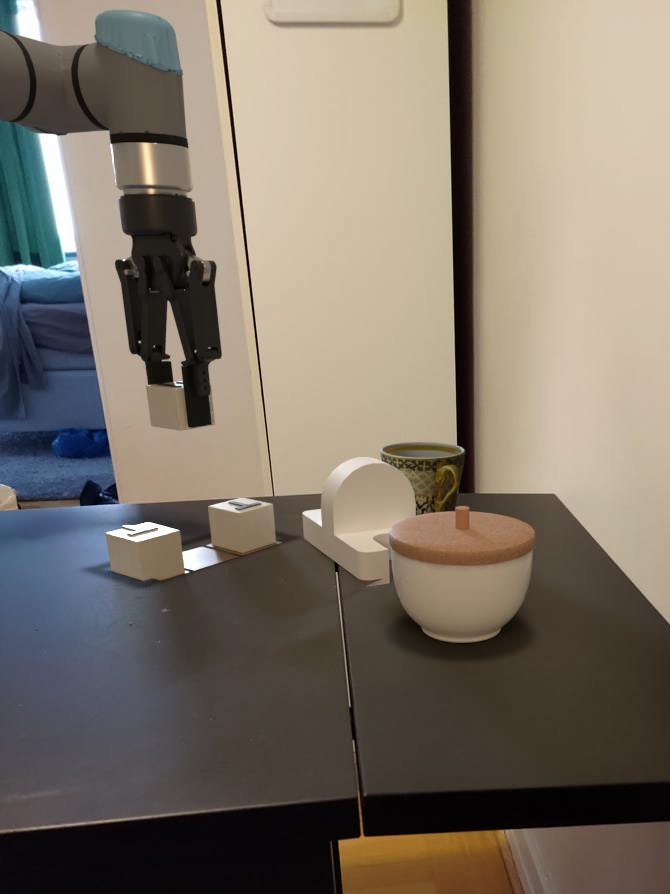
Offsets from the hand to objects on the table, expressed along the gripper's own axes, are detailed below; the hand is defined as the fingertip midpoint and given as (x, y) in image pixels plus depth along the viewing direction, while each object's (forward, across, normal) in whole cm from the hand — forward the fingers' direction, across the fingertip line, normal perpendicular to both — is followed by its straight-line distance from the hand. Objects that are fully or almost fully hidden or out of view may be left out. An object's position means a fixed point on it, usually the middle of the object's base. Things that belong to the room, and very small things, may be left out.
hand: (182, 422), depth 100 cm
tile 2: (+12, -10, +1) cm, 16 cm away
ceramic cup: (+13, -23, -16) cm, 31 cm away
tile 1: (+12, -10, +14) cm, 21 cm away
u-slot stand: (+13, -23, -5) cm, 27 cm away
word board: (+13, -10, +8) cm, 18 cm away
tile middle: (0, 0, 0) cm, 0 cm away
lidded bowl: (+13, -42, +6) cm, 45 cm away
